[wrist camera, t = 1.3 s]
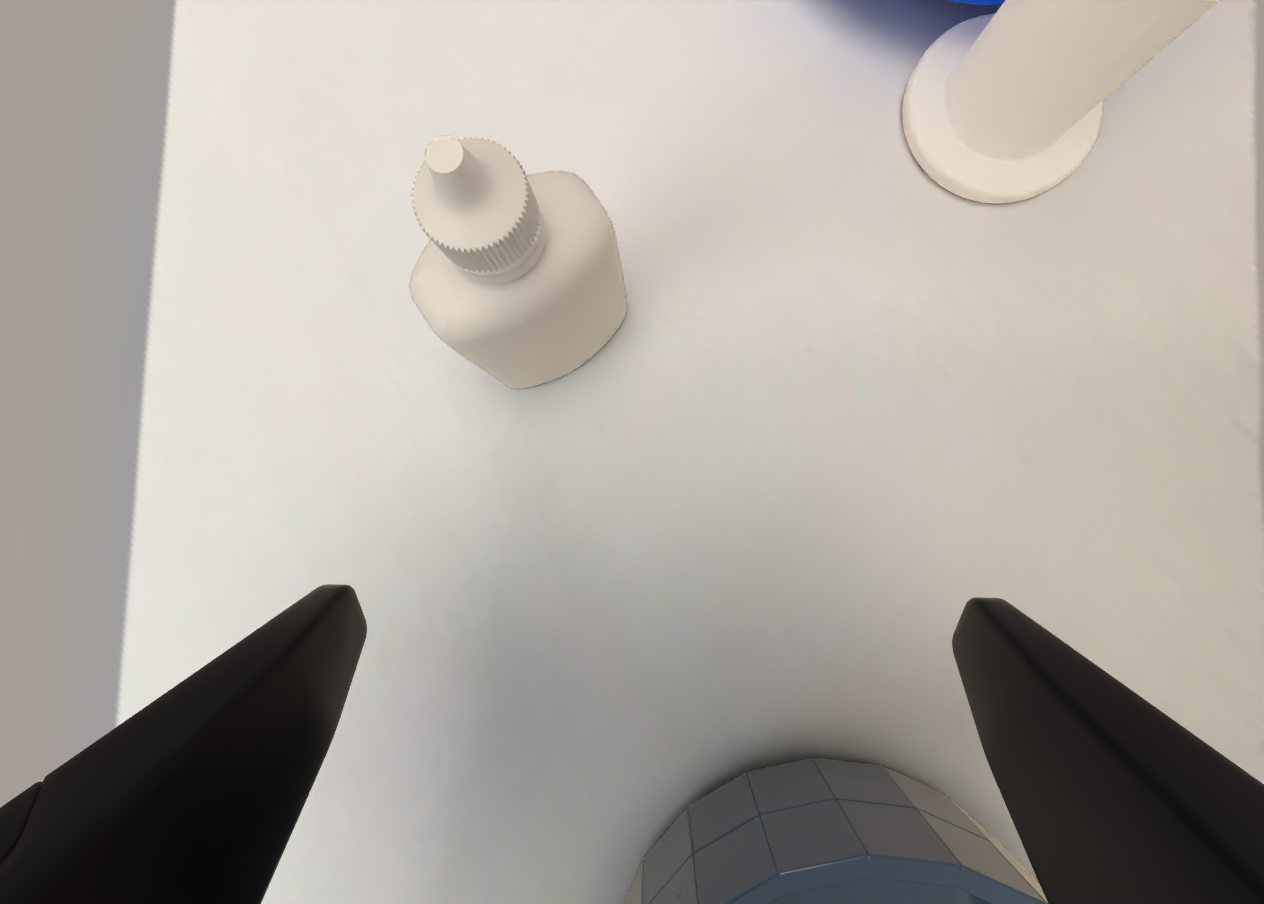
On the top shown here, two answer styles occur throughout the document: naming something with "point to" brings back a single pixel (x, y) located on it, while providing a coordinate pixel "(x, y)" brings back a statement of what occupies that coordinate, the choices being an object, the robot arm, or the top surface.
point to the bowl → (829, 844)
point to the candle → (1029, 89)
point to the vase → (981, 2)
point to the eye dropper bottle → (514, 263)
